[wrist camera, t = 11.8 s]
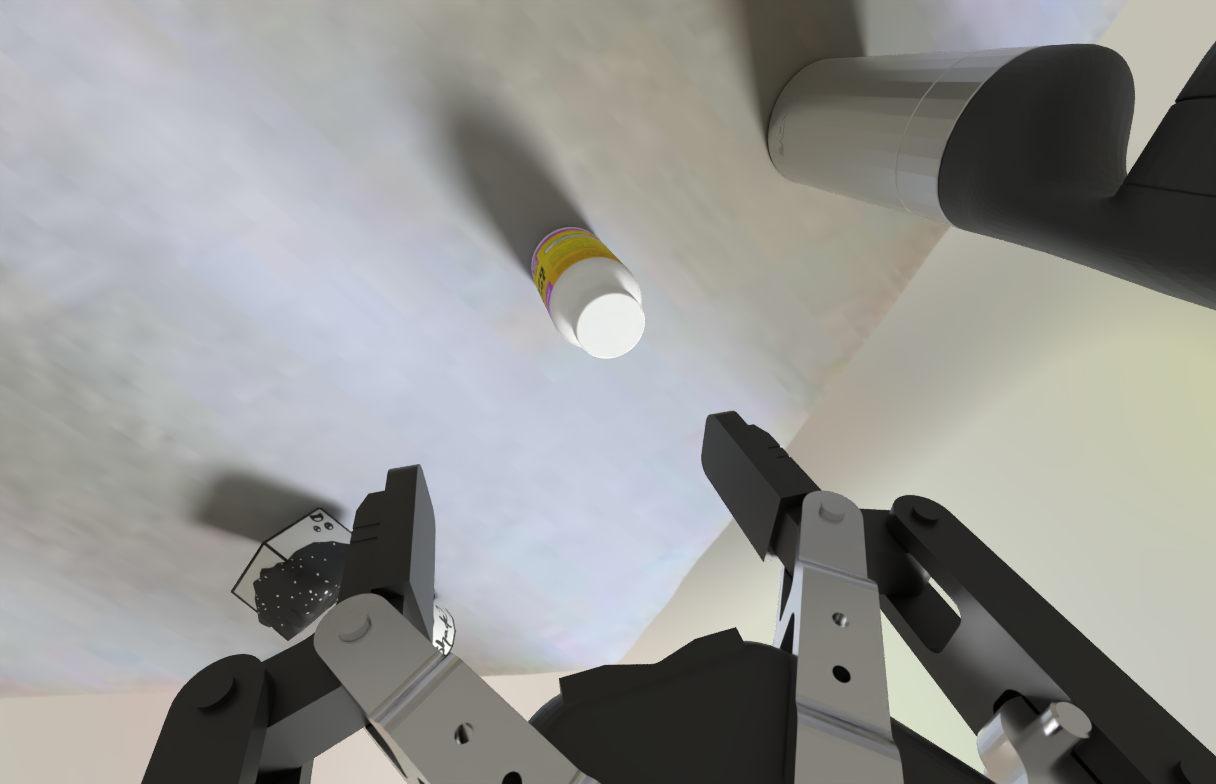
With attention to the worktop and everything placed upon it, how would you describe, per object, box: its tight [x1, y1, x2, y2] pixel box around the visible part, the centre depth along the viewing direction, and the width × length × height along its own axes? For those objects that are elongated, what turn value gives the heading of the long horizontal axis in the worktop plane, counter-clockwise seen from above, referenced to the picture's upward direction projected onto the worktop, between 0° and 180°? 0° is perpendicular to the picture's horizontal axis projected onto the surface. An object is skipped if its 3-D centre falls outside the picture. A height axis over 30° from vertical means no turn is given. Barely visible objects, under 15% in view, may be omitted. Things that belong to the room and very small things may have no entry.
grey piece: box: [231, 508, 456, 655], centre depth 49 cm, size 25×10×10 cm, turn 27°
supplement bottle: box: [531, 227, 645, 358], centre depth 36 cm, size 7×7×13 cm
